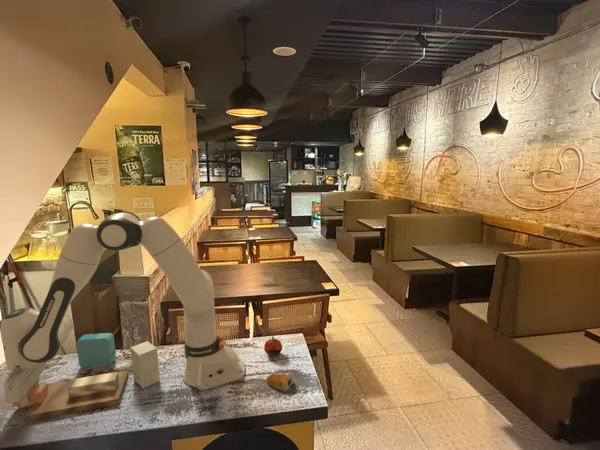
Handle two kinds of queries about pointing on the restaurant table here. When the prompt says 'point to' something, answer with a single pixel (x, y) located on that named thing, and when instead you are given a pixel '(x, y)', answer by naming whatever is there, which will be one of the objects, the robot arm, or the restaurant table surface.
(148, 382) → the small box
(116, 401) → the board
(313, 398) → the restaurant table surface
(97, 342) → the data package
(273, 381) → the pastry
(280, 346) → the pomegranate
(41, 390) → the orange rectangular block
